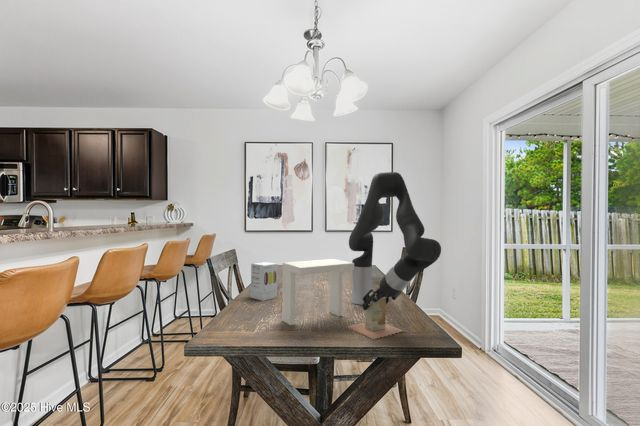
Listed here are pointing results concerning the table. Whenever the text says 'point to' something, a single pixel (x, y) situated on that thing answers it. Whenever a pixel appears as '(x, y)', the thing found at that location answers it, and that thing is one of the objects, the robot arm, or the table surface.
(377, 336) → the terracotta tile
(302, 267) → the white stool
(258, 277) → the supplement box
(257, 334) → the table surface
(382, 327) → the skincare box
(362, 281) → the robot arm
